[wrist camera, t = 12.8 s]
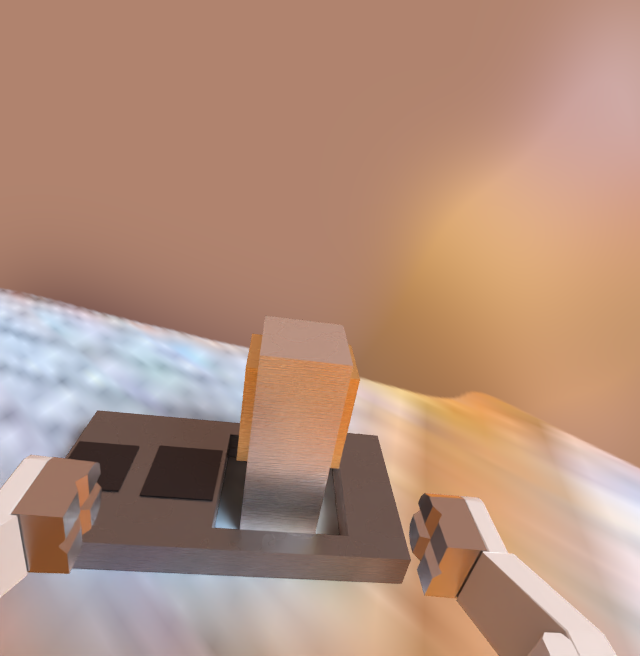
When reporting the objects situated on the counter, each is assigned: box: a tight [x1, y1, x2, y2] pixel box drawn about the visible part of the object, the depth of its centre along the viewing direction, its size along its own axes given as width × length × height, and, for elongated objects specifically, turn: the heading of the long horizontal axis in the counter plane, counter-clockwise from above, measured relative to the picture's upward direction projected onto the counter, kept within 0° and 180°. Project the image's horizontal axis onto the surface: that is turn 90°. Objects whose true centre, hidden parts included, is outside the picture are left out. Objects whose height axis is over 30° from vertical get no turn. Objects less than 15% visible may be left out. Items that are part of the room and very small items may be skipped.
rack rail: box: [65, 411, 411, 583], centre depth 26 cm, size 20×10×2 cm, turn 93°
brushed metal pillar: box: [237, 316, 360, 534], centre depth 25 cm, size 6×4×12 cm
